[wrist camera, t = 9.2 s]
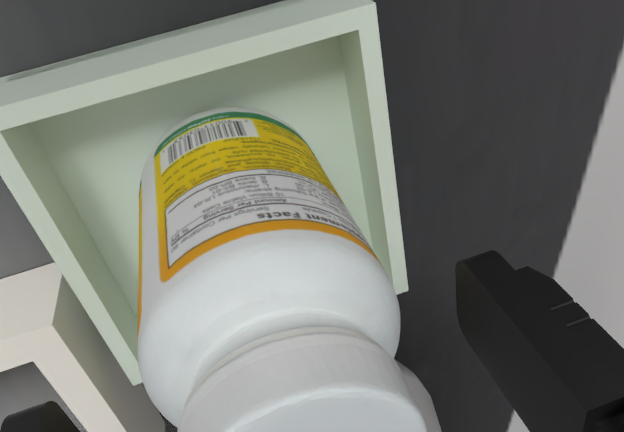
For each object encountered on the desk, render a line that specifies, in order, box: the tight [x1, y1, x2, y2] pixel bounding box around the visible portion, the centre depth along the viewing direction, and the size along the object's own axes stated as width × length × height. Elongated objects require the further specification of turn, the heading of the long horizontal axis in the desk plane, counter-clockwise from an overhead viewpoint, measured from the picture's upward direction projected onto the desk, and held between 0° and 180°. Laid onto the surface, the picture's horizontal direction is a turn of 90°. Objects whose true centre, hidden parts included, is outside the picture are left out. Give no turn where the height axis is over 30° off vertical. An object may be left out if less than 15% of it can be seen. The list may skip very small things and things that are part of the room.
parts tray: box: [0, 0, 409, 386], centre depth 16 cm, size 10×10×2 cm
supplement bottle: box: [137, 107, 427, 432], centre depth 12 cm, size 5×5×10 cm
